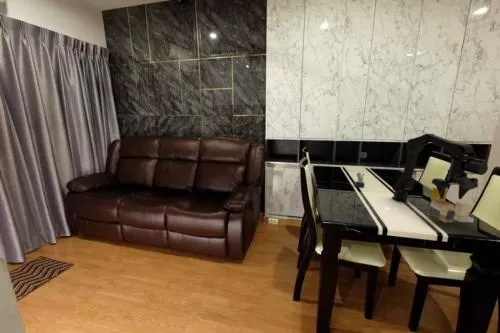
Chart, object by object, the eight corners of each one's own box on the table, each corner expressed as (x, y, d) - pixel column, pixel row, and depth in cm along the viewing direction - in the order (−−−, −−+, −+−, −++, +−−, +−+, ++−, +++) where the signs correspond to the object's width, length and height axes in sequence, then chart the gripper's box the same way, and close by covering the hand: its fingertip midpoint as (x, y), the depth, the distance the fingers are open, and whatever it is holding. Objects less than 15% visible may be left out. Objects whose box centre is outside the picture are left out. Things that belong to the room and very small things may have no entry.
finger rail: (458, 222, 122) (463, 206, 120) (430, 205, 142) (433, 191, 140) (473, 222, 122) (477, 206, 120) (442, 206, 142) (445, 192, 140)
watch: (362, 185, 178) (364, 171, 176) (364, 188, 171) (366, 174, 168) (354, 184, 180) (356, 170, 177) (355, 187, 172) (357, 173, 170)
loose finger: (445, 223, 121) (448, 210, 119) (438, 218, 125) (441, 206, 124) (453, 223, 121) (456, 210, 119) (446, 219, 125) (449, 206, 124)
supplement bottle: (438, 203, 146) (443, 183, 143) (427, 199, 153) (431, 180, 149) (447, 202, 148) (452, 183, 145) (436, 198, 154) (440, 179, 151)
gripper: (451, 173, 109) (444, 204, 113) (492, 174, 109) (483, 205, 113) (434, 167, 120) (427, 196, 124) (471, 168, 119) (464, 197, 123)
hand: (450, 198), depth 121 cm, fingers open, 9 cm apart
